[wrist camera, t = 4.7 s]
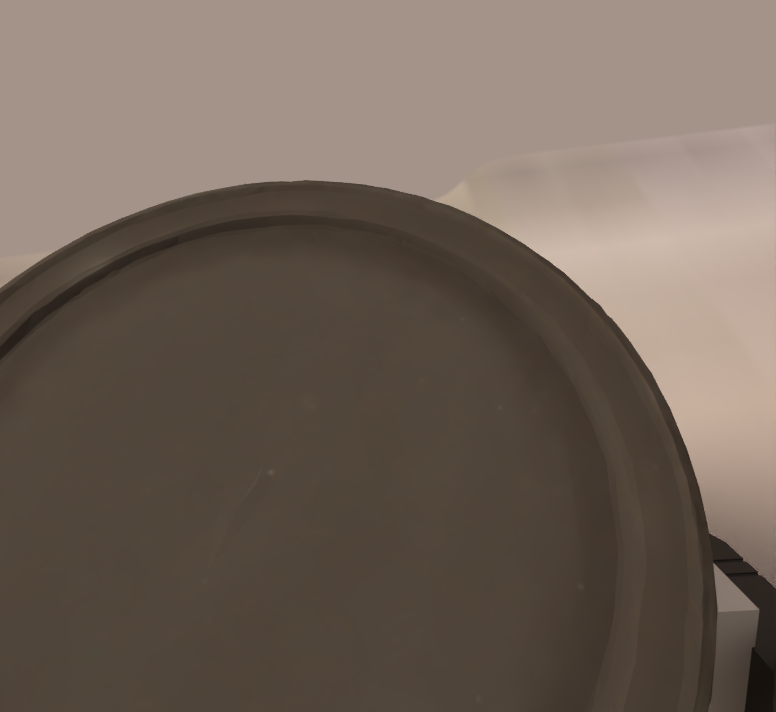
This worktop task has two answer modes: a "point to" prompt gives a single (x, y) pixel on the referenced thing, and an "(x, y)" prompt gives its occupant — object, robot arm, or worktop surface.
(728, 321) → the worktop surface
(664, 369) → the worktop surface
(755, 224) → the worktop surface
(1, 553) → the coffee can
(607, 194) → the worktop surface
